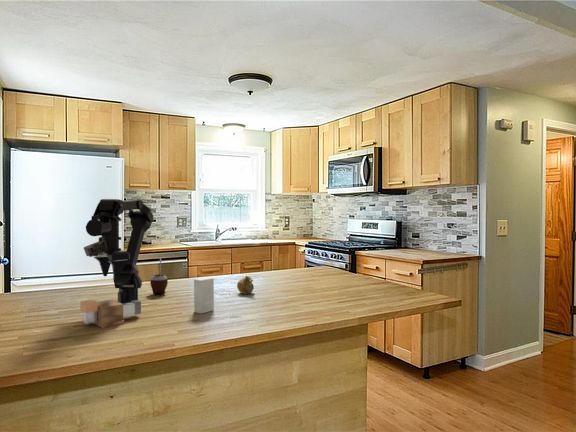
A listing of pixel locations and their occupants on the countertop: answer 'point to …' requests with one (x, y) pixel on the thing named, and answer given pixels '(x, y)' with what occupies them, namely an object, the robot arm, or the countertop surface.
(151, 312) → the countertop surface
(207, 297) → the skincare box
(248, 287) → the onion
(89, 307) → the block
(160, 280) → the mate gourd
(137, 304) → the shaft
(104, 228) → the robot arm
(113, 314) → the block
